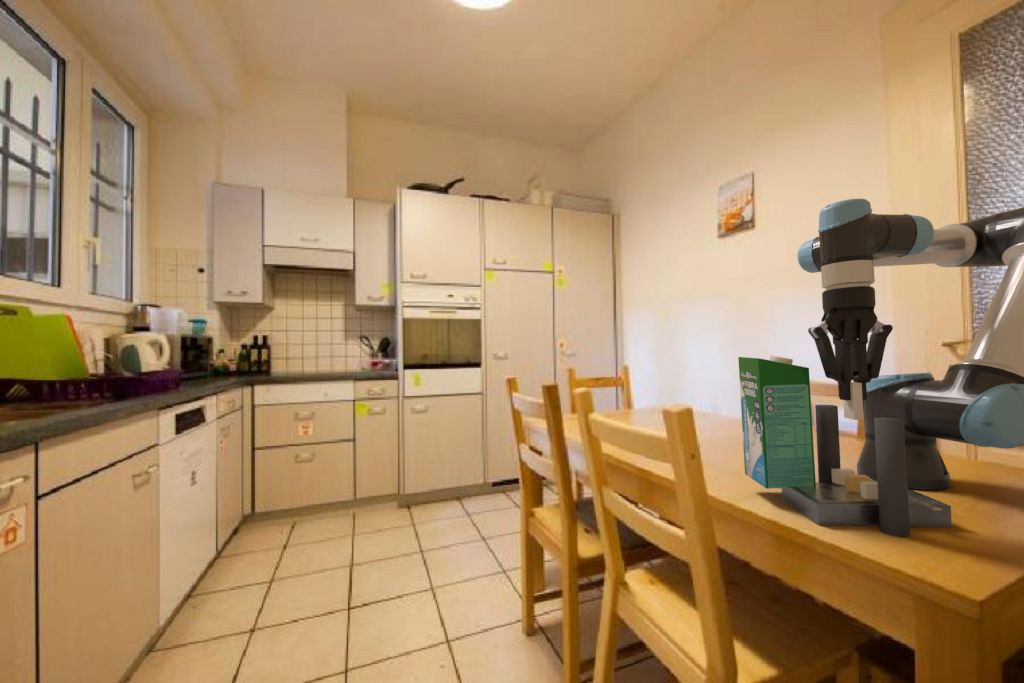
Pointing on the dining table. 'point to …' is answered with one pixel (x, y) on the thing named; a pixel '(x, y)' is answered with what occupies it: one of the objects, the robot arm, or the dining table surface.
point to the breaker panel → (860, 506)
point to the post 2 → (892, 476)
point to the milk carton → (776, 422)
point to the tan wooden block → (855, 481)
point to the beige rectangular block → (869, 490)
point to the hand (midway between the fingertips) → (853, 418)
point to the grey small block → (840, 475)
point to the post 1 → (827, 441)
